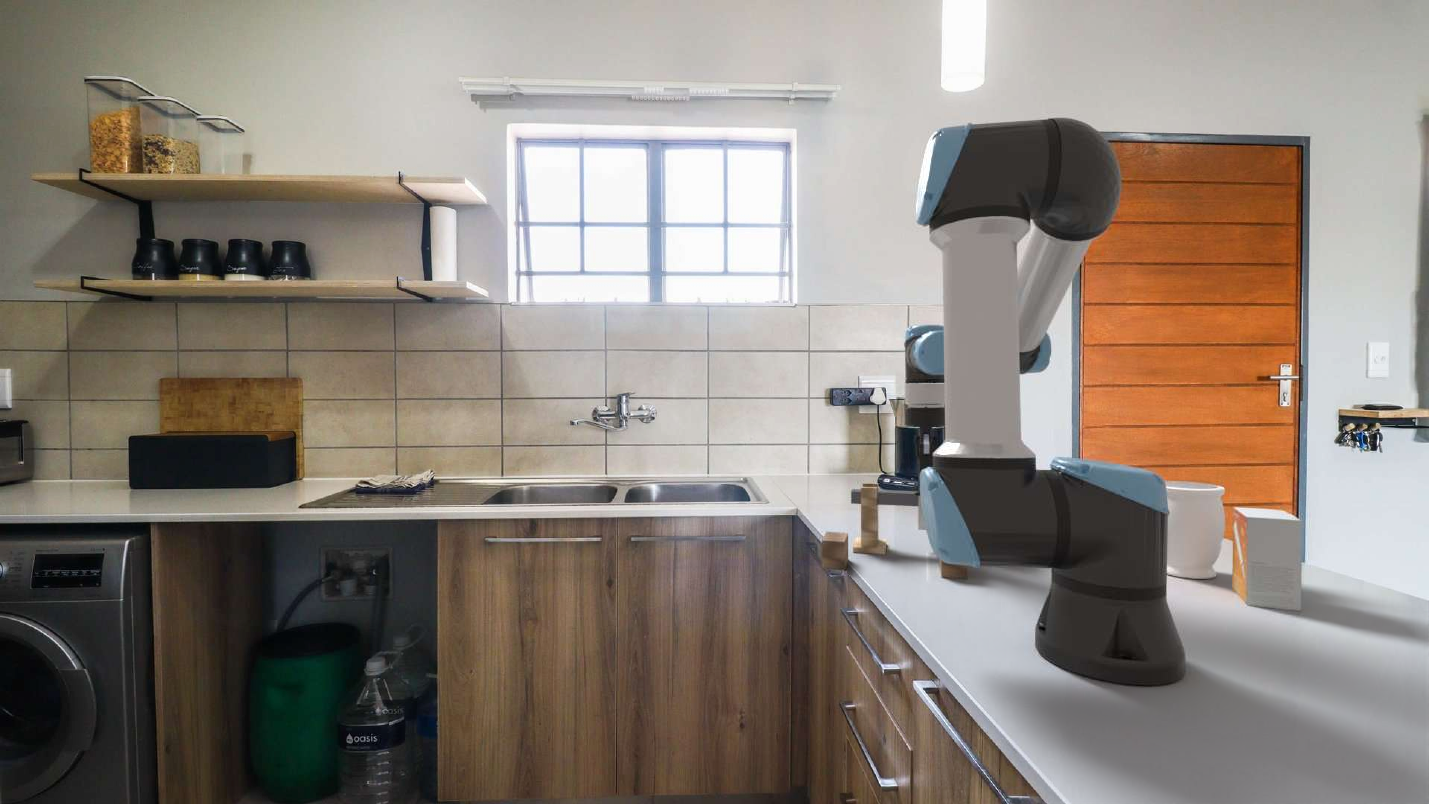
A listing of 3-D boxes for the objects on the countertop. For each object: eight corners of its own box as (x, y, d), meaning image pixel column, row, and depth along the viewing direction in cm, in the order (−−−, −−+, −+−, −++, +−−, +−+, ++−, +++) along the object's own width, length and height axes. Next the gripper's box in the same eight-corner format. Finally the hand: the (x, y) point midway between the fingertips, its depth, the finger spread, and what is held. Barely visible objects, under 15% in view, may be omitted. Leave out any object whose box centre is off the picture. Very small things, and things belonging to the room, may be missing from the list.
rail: (1003, 507, 121) (1003, 494, 121) (1005, 510, 119) (1005, 497, 119) (852, 500, 129) (852, 489, 129) (851, 503, 127) (851, 491, 126)
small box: (1231, 589, 100) (1232, 506, 100) (1283, 595, 97) (1285, 509, 97) (1245, 605, 93) (1246, 516, 93) (1302, 612, 90) (1303, 520, 90)
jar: (1151, 576, 107) (1151, 487, 106) (1143, 561, 116) (1143, 478, 116) (1231, 585, 102) (1232, 491, 102) (1216, 568, 111) (1217, 482, 111)
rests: (963, 567, 113) (963, 539, 113) (966, 578, 107) (966, 549, 107) (826, 558, 120) (826, 531, 120) (821, 568, 114) (821, 540, 113)
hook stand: (998, 550, 124) (998, 486, 124) (1004, 561, 117) (1004, 493, 116) (856, 542, 132) (855, 481, 132) (853, 552, 124) (852, 488, 124)
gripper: (948, 407, 115) (948, 538, 115) (943, 404, 130) (943, 519, 131) (905, 407, 117) (905, 535, 117) (905, 404, 132) (905, 517, 133)
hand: (925, 527), depth 124 cm, fingers closed on rail, 3 cm apart
